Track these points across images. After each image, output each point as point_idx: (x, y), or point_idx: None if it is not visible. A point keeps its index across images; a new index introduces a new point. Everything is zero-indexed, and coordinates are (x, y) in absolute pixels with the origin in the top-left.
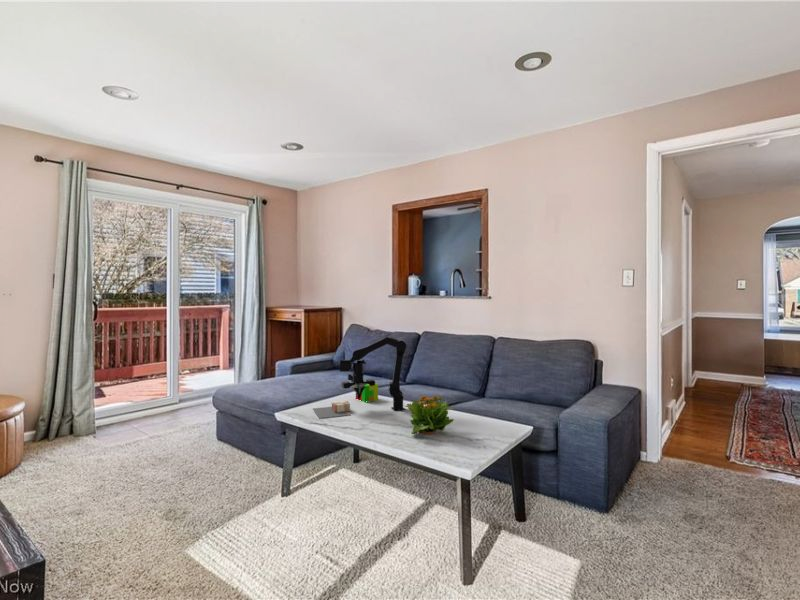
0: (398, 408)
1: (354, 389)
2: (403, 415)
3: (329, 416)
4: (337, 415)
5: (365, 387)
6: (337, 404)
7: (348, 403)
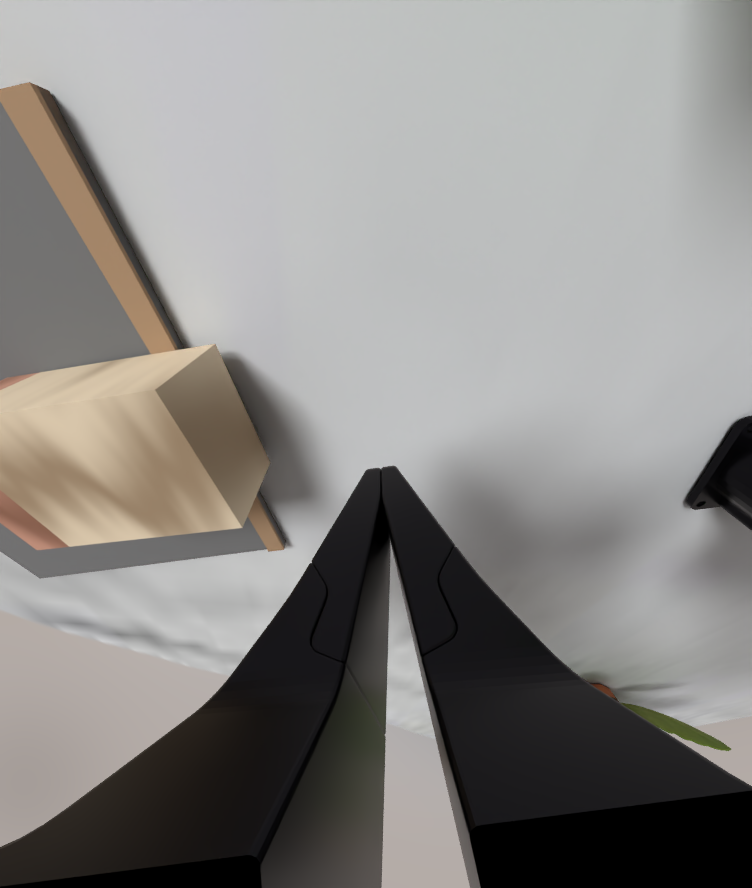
0: (738, 513)
1: (229, 702)
2: (647, 580)
3: (111, 562)
4: (173, 550)
5: (628, 872)
6: (64, 528)
7: (220, 525)
